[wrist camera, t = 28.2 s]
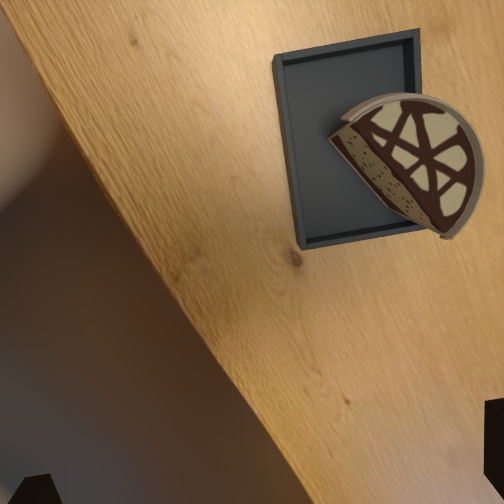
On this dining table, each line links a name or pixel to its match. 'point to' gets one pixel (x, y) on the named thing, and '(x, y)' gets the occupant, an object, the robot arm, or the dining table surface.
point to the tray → (328, 121)
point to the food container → (416, 158)
